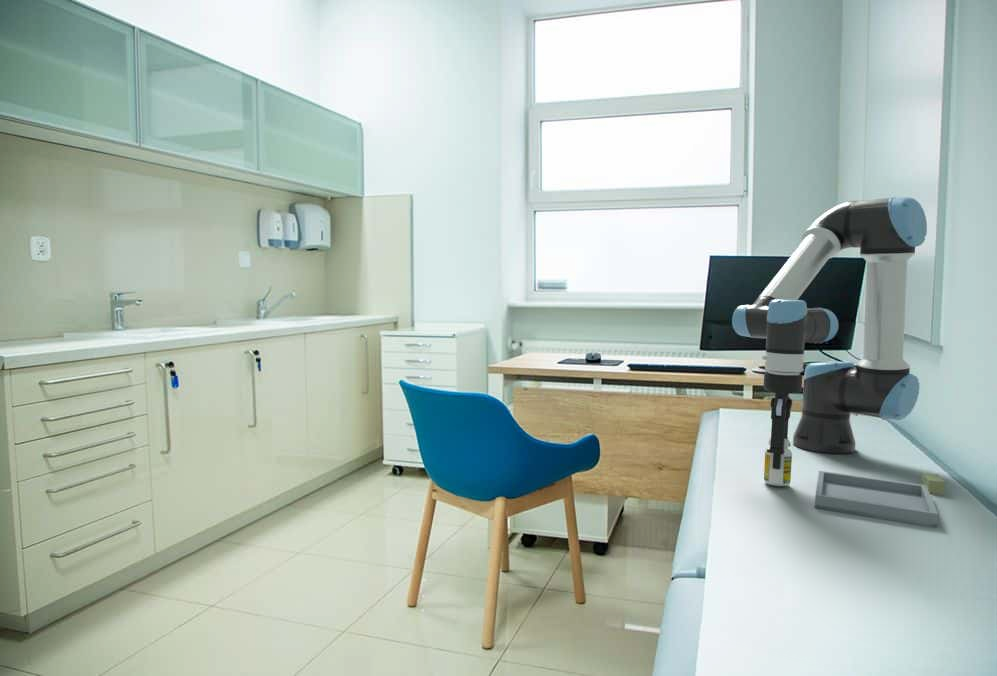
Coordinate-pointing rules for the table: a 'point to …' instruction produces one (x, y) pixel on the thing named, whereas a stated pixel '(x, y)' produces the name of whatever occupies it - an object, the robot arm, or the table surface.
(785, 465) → the supplement bottle
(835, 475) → the slate tray
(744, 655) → the table surface
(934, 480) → the olive brick
